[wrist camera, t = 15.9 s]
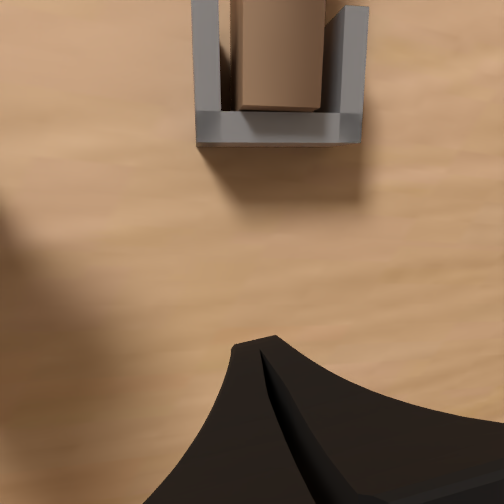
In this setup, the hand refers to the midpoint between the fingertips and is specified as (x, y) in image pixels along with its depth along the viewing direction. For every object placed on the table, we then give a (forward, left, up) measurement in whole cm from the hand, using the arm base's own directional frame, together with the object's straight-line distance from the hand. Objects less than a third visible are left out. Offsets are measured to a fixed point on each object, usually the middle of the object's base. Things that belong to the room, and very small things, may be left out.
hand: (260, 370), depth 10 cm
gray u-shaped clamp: (+2, +9, -10) cm, 14 cm away
